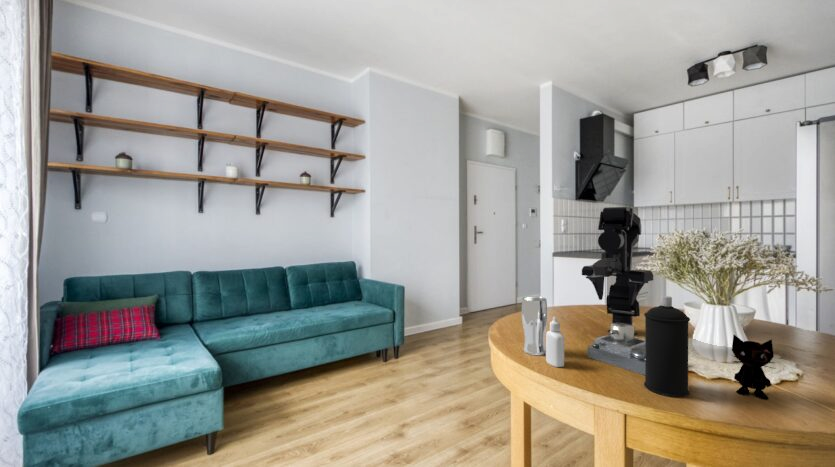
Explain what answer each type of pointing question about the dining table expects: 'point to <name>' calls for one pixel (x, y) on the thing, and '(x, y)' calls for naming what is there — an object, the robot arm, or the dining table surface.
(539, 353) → the beer glass
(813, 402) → the dining table surface
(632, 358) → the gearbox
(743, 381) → the cat figurine
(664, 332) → the aerosol can
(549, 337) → the eye dropper bottle
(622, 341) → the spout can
